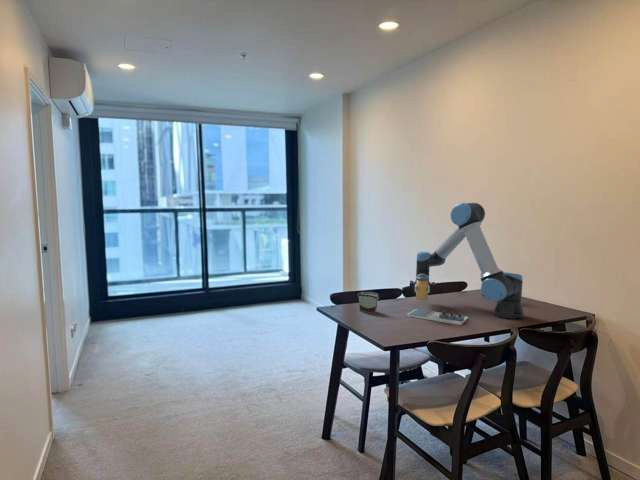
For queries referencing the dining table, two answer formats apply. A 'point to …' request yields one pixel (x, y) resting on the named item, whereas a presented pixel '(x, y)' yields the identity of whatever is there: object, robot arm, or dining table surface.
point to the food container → (368, 301)
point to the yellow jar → (422, 288)
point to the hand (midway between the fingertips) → (422, 289)
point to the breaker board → (438, 316)
